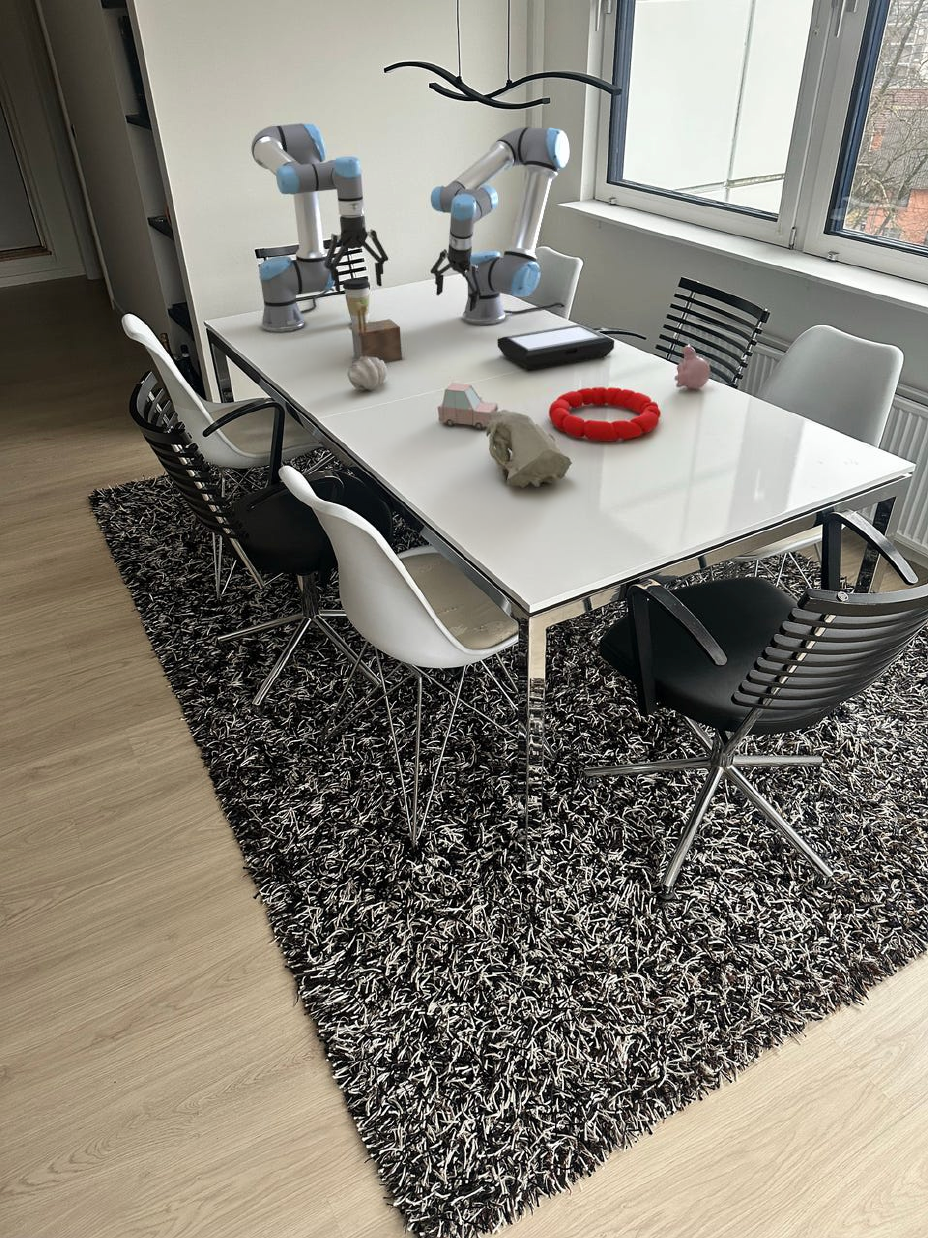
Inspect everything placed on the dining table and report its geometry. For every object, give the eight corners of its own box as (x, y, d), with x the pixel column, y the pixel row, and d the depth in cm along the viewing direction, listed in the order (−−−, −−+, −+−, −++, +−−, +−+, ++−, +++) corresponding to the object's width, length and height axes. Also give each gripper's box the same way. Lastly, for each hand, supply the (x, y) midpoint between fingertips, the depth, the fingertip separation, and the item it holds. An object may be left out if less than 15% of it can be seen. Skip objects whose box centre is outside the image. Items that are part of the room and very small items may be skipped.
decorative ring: (589, 435, 224) (684, 402, 234) (527, 398, 247) (617, 369, 256) (589, 461, 229) (683, 427, 238) (529, 422, 251) (617, 393, 260)
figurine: (665, 387, 264) (669, 347, 257) (693, 380, 268) (698, 340, 261) (686, 396, 257) (690, 355, 250) (714, 388, 262) (720, 348, 255)
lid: (358, 336, 282) (355, 308, 277) (349, 328, 290) (346, 301, 285) (400, 329, 287) (398, 302, 282) (389, 322, 294) (387, 295, 289)
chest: (363, 365, 288) (360, 336, 283) (354, 357, 295) (351, 328, 290) (402, 359, 292) (400, 330, 287) (392, 351, 300) (389, 322, 294)
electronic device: (525, 353, 274) (497, 336, 289) (525, 373, 277) (497, 355, 292) (614, 337, 284) (582, 321, 299) (613, 356, 288) (581, 340, 303)
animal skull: (496, 517, 219) (521, 479, 201) (463, 429, 225) (484, 384, 207) (557, 503, 225) (586, 465, 206) (523, 417, 231) (549, 373, 212)
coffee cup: (372, 326, 323) (368, 283, 314) (345, 327, 323) (340, 284, 315) (374, 318, 331) (371, 276, 322) (348, 319, 331) (344, 277, 323)
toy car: (488, 432, 240) (488, 396, 234) (436, 426, 244) (434, 390, 239) (499, 419, 247) (499, 384, 241) (448, 413, 252) (447, 379, 246)
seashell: (340, 388, 271) (336, 356, 265) (384, 379, 276) (382, 347, 271) (353, 398, 263) (350, 365, 258) (399, 389, 269) (396, 356, 263)
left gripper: (315, 221, 261) (323, 296, 273) (395, 212, 268) (400, 285, 281) (308, 217, 266) (317, 290, 278) (386, 208, 274) (391, 280, 286)
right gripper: (421, 235, 288) (419, 291, 305) (486, 265, 281) (480, 321, 299) (434, 224, 291) (431, 281, 309) (499, 254, 285) (492, 310, 303)
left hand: (358, 288), depth 279 cm, fingers open, 13 cm apart
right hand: (455, 301), depth 304 cm, fingers open, 13 cm apart
